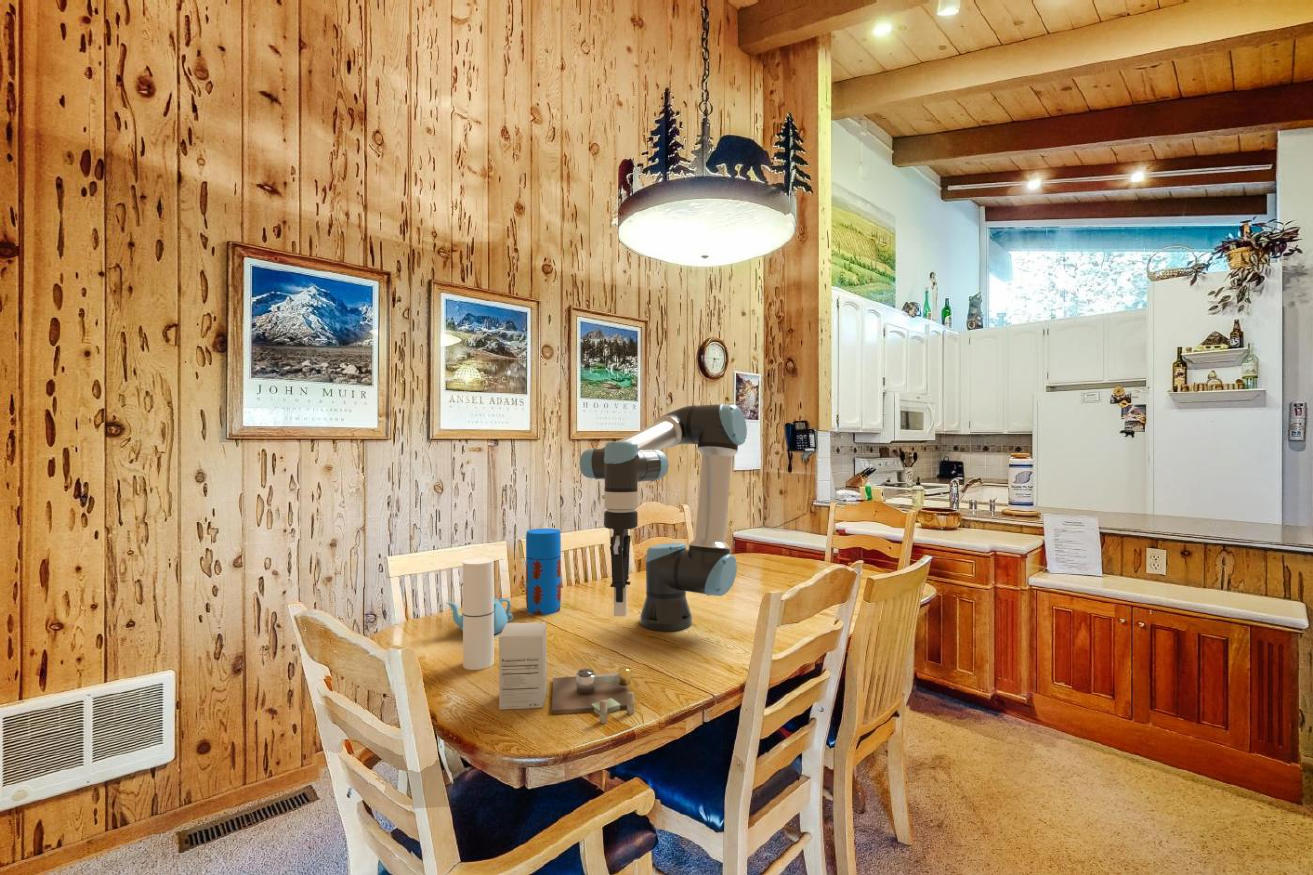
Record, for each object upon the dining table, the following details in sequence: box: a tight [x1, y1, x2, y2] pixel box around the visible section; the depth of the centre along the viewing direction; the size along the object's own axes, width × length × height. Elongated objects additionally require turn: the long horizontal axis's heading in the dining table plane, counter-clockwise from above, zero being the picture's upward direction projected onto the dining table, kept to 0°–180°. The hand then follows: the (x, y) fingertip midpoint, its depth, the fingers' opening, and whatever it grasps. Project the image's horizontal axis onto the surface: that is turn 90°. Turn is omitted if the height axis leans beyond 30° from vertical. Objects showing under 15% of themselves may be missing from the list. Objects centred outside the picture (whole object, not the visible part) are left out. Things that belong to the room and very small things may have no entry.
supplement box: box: [498, 621, 548, 711], centre depth 125 cm, size 9×9×15 cm
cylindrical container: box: [462, 557, 495, 671], centre depth 145 cm, size 7×7×25 cm
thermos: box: [525, 527, 562, 616], centre depth 189 cm, size 11×11×25 cm
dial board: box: [551, 676, 635, 725], centre depth 125 cm, size 16×21×4 cm
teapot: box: [445, 597, 514, 635], centre depth 169 cm, size 15×15×10 cm
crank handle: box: [575, 666, 632, 693], centre depth 128 cm, size 12×4×4 cm, turn 99°
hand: (620, 615), depth 134 cm, fingers closed
